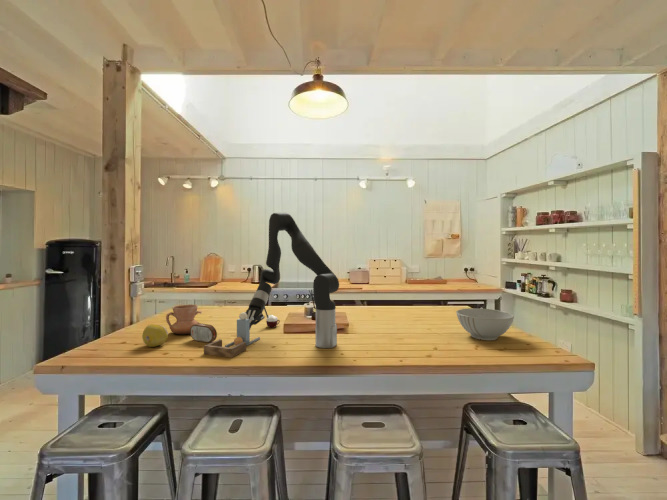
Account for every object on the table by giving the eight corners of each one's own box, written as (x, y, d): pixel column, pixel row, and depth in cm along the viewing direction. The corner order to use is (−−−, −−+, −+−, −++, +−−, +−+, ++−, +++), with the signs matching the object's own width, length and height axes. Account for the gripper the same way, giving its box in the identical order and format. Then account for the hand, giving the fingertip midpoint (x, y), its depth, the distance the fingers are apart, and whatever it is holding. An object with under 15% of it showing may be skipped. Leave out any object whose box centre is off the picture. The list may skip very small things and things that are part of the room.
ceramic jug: (205, 328, 193) (205, 303, 193) (199, 335, 179) (198, 307, 179) (171, 330, 191) (170, 304, 191) (162, 337, 176) (161, 309, 176)
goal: (245, 350, 156) (245, 342, 156) (231, 357, 146) (231, 349, 146) (219, 346, 160) (219, 339, 160) (203, 353, 150) (203, 345, 150)
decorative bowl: (454, 341, 171) (454, 316, 170) (457, 328, 195) (457, 306, 195) (516, 347, 160) (516, 321, 160) (511, 333, 185) (511, 310, 185)
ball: (245, 337, 164) (240, 337, 160) (244, 345, 163) (239, 346, 159) (237, 336, 165) (232, 336, 161) (236, 345, 164) (231, 345, 161)
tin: (217, 342, 167) (217, 325, 167) (212, 344, 164) (212, 326, 164) (194, 338, 174) (193, 321, 173) (189, 340, 171) (188, 323, 171)
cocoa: (279, 325, 202) (280, 305, 202) (279, 328, 196) (280, 306, 196) (262, 325, 201) (263, 304, 201) (261, 327, 194) (262, 306, 195)
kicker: (249, 342, 167) (249, 311, 167) (245, 344, 164) (245, 313, 163) (240, 341, 169) (240, 311, 168) (236, 343, 165) (236, 312, 165)
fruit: (162, 348, 157) (162, 326, 157) (137, 349, 156) (137, 327, 156) (171, 342, 167) (171, 321, 167) (148, 342, 167) (148, 321, 166)
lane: (259, 339, 173) (259, 337, 173) (240, 349, 157) (240, 347, 157) (245, 337, 175) (245, 335, 175) (224, 347, 159) (224, 345, 159)
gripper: (244, 296, 179) (230, 325, 167) (267, 297, 174) (254, 327, 163) (250, 304, 184) (237, 334, 173) (273, 306, 180) (260, 336, 168)
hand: (245, 331), depth 168 cm, fingers closed
